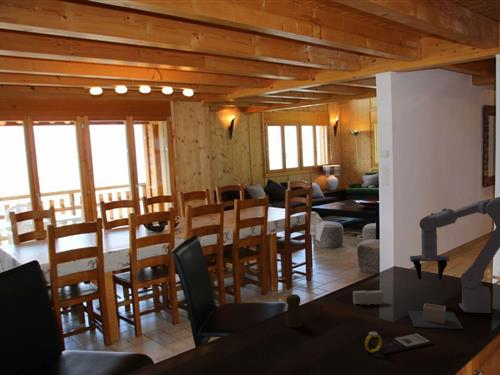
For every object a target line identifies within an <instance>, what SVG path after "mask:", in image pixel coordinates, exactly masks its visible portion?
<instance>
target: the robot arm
mask: <svg viewBox="0 0 500 375" xmlns="http://www.w3.org/2000/svg"><path fill="white" fill-rule="evenodd" d="M477 213H478V214H481V215H486V214H487V215H488V216H489V217H490V218H491V220H493V224H494V225H495V227H494V228H495V229H494V230H493V231H492V233H491V235H490V236H489V238H488V239H487V241H486V242H485V244H484V245H483V248H481V250H480V252H479V253H478V255H477V257H475V258H476V259H474V261H473V263H472V265H470V266H469V267H468V268H467V269H466V271H464V272H463V273H462V274H461V275H460V282H461V303H458V305H459V307H460V308H461V310H462V311H463V313H481V314H482V313H483V314H491V313H492V300H491V299H492V298H491V297H492V295H491V290H490V288H489V286H484V284H483V283H482V281H483V279H484V278H485V272H486V270H487V268H488V266H489V265H490V263H491V262H492V260H493V259H494V257H495V256H496V254H497V252H498V251H499V249H500V196H498V197H494V198H493V199H492V198H489V199H488V198H487V199H484V200H480V201H477V202H474V203H471V204H469V205H465V206H463V207H461V208H457V209H456V210H454V209H451V208H442V209H441V211H438V212H436V213H434V212H433V213H430V214H429V215H426V216H424V217H422V218H421V219H420V220H419V224H418V225H419V228H420V229H421V255H420V254H419V255H410V256H409V262H410V263H412V264H413V265H414V268H415V271H416V274H417V277H418V278H417V279H418V280H422V264H421V262H437V279H438V280H442V279H443V278H442V277H443V273H444V271H445V269H446V267H447V266H448V262H450V256H449V255H442V254H441V255H439V254H438V233H437V232H438V231H437V228H438V229H439V228H443V227H445V226H448V225H449V226H450V225H452V224H455V223H456V222H457V220H458V219H459V218H463V217H467V216H471V215H474V214H477Z"/></svg>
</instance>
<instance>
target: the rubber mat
mask: <svg viewBox="0 0 500 375" xmlns="http://www.w3.org/2000/svg"><path fill="white" fill-rule="evenodd" d="M407 313H408V315H409V317H410V320H412V321H411V323H412V325H413V328H415V327H420V329H446V330H447V329H448V330H464V327H463V325H462V324H461V321H459V319H458V318H457V316H456V314H455V313H454V311H446V321H445V323H444V324H442V323H436V322H430V321H424V320H423V310H408V311H407ZM421 327H422V328H421Z"/></svg>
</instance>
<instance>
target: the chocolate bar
mask: <svg viewBox="0 0 500 375" xmlns="http://www.w3.org/2000/svg"><path fill="white" fill-rule="evenodd" d="M378 342H379V339H375V340H374V339H373V340H369V342H368V345H370V346H372V348H373V349H375V348H376V347H377V346H378ZM428 345H429V346H432V345H434V342H432V341H431V340H428V338H425V337H424V336H422V335H420V334H418V333H417V332H415V331H413V332H407V333H403V334H399V335H394V336H390V337H385V338H384V337H383V338H382V346H381V348H380V349H379V351H378V352H379V353H381V354H383V356H389V355H392V354H397V352H398V353H401V352H405V351H409V350H415V349H419V347H420V348H423V347H428Z"/></svg>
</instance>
